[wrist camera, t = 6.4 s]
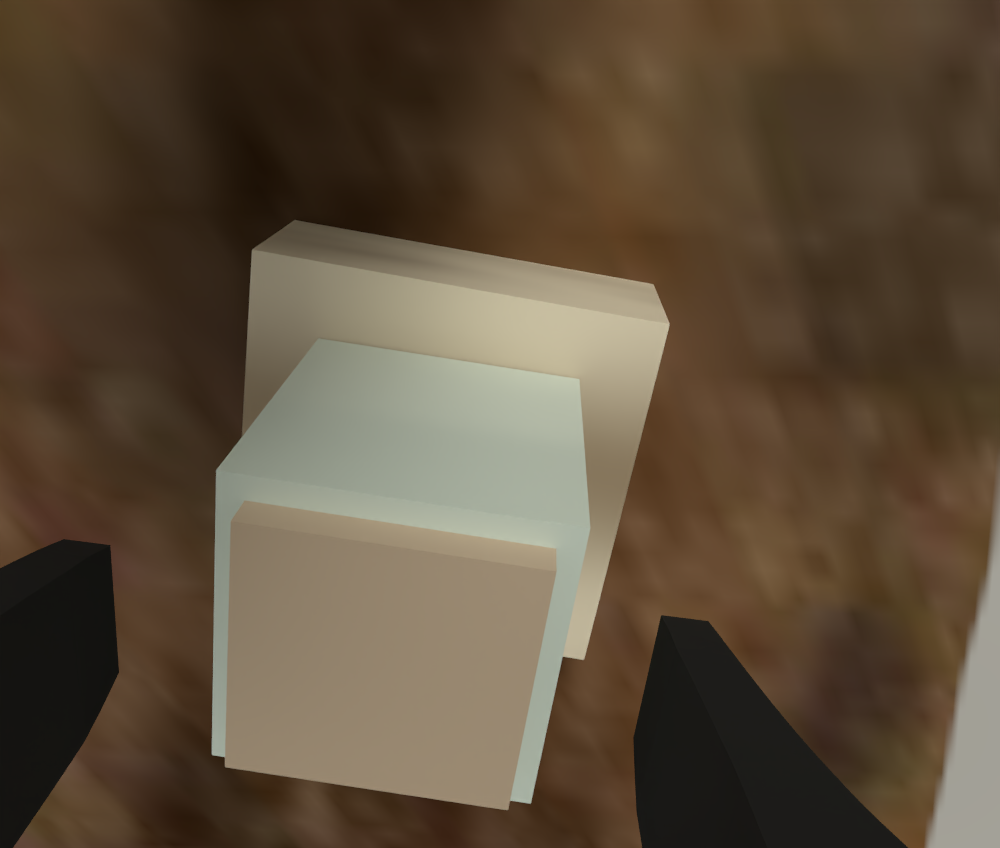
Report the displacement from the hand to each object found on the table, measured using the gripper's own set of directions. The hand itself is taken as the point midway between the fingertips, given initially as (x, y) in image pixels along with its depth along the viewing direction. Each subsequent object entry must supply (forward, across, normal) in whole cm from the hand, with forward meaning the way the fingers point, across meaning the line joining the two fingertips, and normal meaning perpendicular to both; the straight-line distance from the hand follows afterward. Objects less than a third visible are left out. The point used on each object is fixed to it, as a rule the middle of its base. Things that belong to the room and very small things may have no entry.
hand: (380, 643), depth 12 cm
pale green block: (+5, 0, 0) cm, 5 cm away
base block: (+8, 0, 0) cm, 8 cm away
